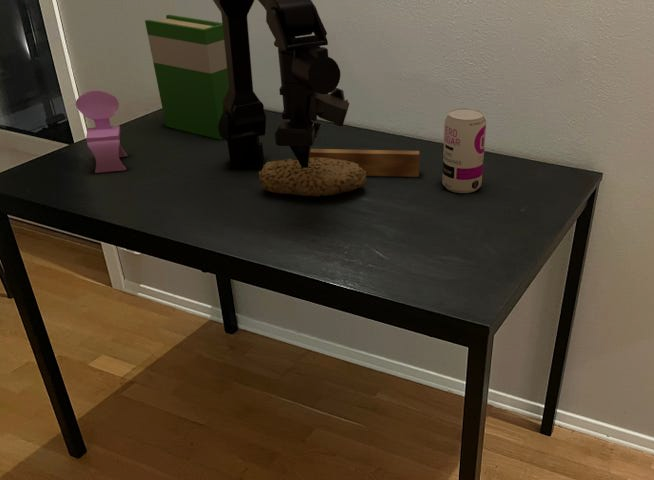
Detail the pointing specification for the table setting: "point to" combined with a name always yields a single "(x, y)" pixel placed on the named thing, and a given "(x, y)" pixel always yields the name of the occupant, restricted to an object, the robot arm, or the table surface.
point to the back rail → (376, 160)
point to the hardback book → (190, 72)
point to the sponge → (312, 177)
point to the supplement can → (463, 150)
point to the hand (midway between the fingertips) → (305, 167)
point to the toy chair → (102, 130)
